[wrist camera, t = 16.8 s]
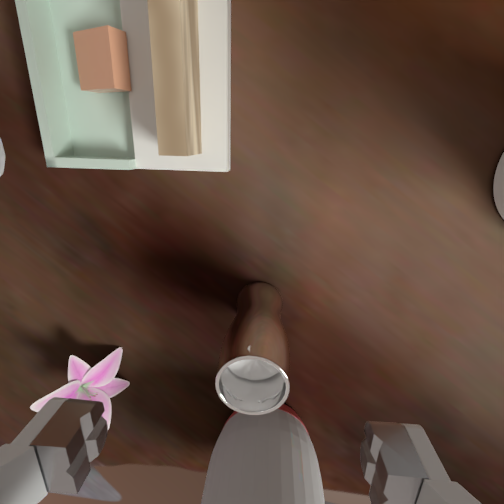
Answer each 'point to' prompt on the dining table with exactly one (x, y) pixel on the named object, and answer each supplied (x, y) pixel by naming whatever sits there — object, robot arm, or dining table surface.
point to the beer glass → (255, 354)
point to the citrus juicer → (264, 462)
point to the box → (74, 87)
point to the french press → (2, 158)
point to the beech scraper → (176, 75)
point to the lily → (90, 383)
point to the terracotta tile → (102, 60)
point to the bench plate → (211, 88)
